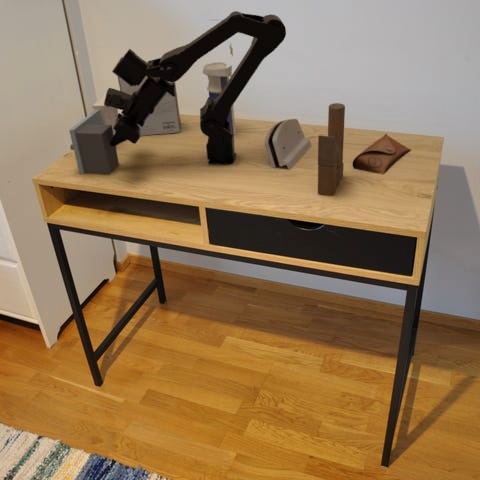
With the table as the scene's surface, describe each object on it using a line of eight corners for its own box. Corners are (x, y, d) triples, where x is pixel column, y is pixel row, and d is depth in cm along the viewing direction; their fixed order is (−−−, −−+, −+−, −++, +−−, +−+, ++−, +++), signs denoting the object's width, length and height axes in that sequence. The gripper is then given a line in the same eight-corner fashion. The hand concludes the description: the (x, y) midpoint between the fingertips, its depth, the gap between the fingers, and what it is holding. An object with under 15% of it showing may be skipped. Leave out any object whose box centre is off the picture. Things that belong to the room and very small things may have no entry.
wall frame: (124, 135, 165) (117, 92, 158) (112, 150, 156) (103, 105, 149) (114, 135, 166) (106, 92, 159) (101, 150, 156) (92, 105, 149)
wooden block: (317, 194, 126) (318, 118, 117) (328, 174, 135) (330, 101, 125) (333, 196, 125) (335, 119, 116) (343, 176, 134) (346, 102, 124)
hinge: (289, 170, 138) (276, 133, 134) (273, 173, 141) (259, 137, 137) (312, 145, 150) (300, 110, 147) (296, 148, 153) (284, 114, 149)
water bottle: (226, 125, 167) (220, 39, 154) (242, 133, 161) (237, 43, 148) (203, 132, 163) (194, 44, 150) (218, 140, 157) (211, 49, 144)
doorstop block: (119, 164, 147) (111, 125, 141) (109, 174, 142) (101, 133, 136) (94, 163, 149) (86, 124, 143) (84, 173, 144) (75, 133, 138)
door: (109, 150, 156) (100, 108, 150) (83, 174, 143) (73, 130, 137) (99, 149, 157) (90, 108, 150) (73, 173, 144) (62, 129, 137)
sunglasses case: (384, 175, 132) (372, 150, 131) (360, 183, 137) (348, 159, 136) (412, 149, 144) (402, 125, 143) (389, 157, 149) (379, 135, 148)
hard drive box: (181, 124, 170) (173, 57, 160) (180, 133, 164) (172, 64, 153) (130, 128, 170) (119, 61, 159) (127, 137, 163) (115, 69, 153)
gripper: (124, 66, 141) (90, 113, 146) (114, 88, 125) (77, 139, 131) (160, 94, 145) (126, 138, 151) (155, 118, 129) (117, 167, 135)
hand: (111, 144), depth 142 cm, fingers closed, pressing on doorstop block
